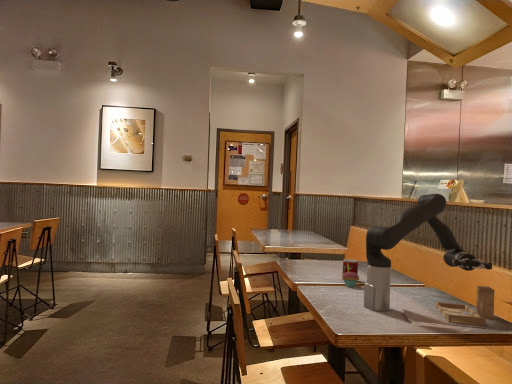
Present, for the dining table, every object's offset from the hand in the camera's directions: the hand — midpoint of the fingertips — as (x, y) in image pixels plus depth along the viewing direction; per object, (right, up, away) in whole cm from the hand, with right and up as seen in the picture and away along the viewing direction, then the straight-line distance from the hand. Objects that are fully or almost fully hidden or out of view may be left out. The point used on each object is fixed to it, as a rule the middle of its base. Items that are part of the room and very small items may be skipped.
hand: (477, 266), depth 157 cm
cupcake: (-43, -18, +39) cm, 60 cm away
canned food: (-40, -18, +52) cm, 68 cm away
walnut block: (-3, -18, -10) cm, 21 cm away
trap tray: (-13, -18, -10) cm, 24 cm away
